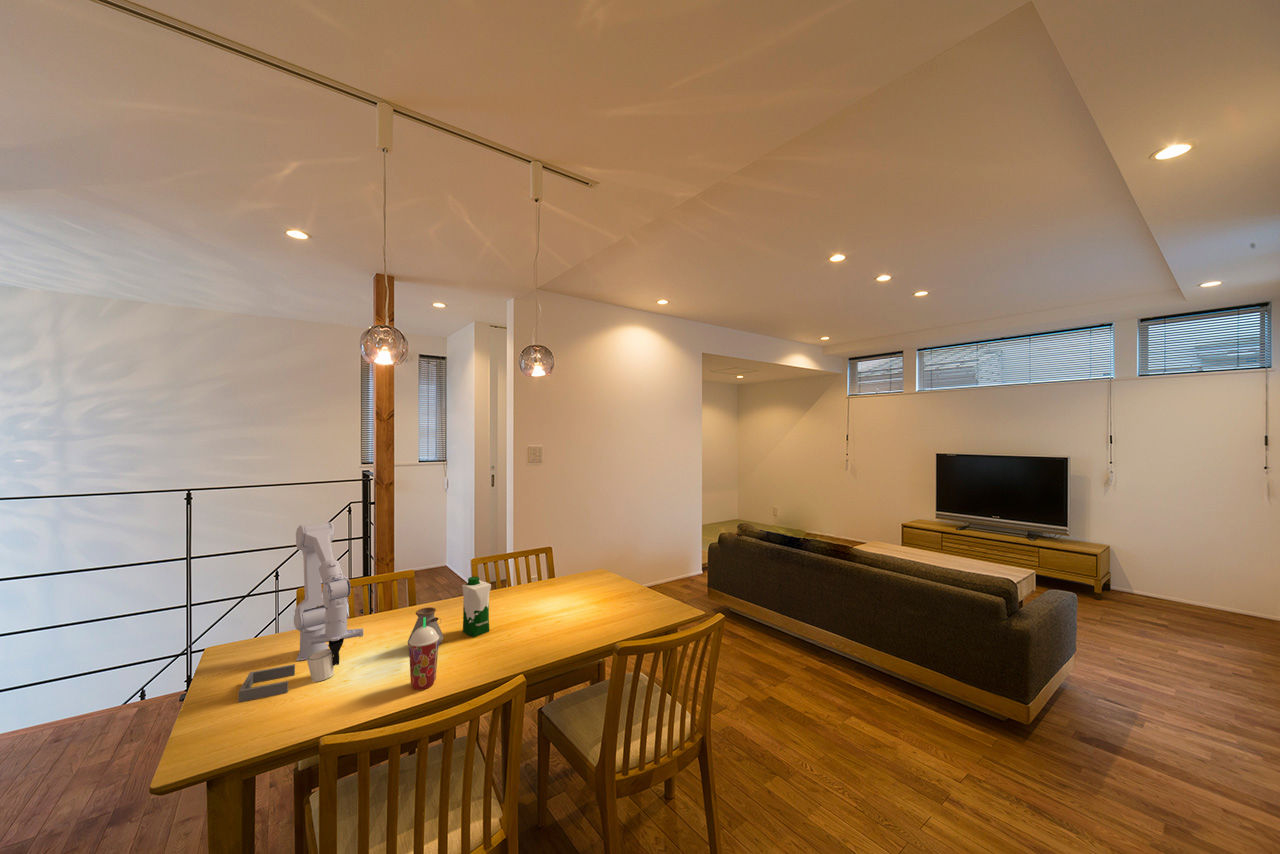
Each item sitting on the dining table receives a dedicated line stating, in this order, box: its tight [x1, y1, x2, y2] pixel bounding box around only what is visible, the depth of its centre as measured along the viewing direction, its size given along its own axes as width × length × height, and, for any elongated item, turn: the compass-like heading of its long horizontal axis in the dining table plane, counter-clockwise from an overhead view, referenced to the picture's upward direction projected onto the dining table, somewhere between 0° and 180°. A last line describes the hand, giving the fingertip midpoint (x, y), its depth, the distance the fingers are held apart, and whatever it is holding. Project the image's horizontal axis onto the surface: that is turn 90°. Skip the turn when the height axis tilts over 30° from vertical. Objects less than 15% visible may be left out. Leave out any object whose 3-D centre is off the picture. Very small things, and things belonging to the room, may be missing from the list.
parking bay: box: [237, 664, 296, 703], centre depth 138 cm, size 12×11×3 cm
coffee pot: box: [407, 606, 444, 646], centre depth 161 cm, size 21×12×15 cm, turn 37°
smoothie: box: [408, 617, 440, 691], centre depth 141 cm, size 8×8×20 cm
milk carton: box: [462, 576, 492, 638], centre depth 178 cm, size 9×9×20 cm
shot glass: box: [306, 648, 335, 683], centre depth 144 cm, size 7×7×7 cm
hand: (336, 663), depth 146 cm, fingers closed, pressing on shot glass
